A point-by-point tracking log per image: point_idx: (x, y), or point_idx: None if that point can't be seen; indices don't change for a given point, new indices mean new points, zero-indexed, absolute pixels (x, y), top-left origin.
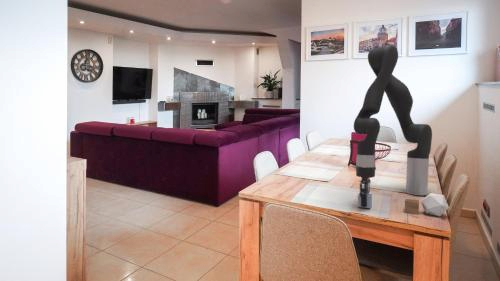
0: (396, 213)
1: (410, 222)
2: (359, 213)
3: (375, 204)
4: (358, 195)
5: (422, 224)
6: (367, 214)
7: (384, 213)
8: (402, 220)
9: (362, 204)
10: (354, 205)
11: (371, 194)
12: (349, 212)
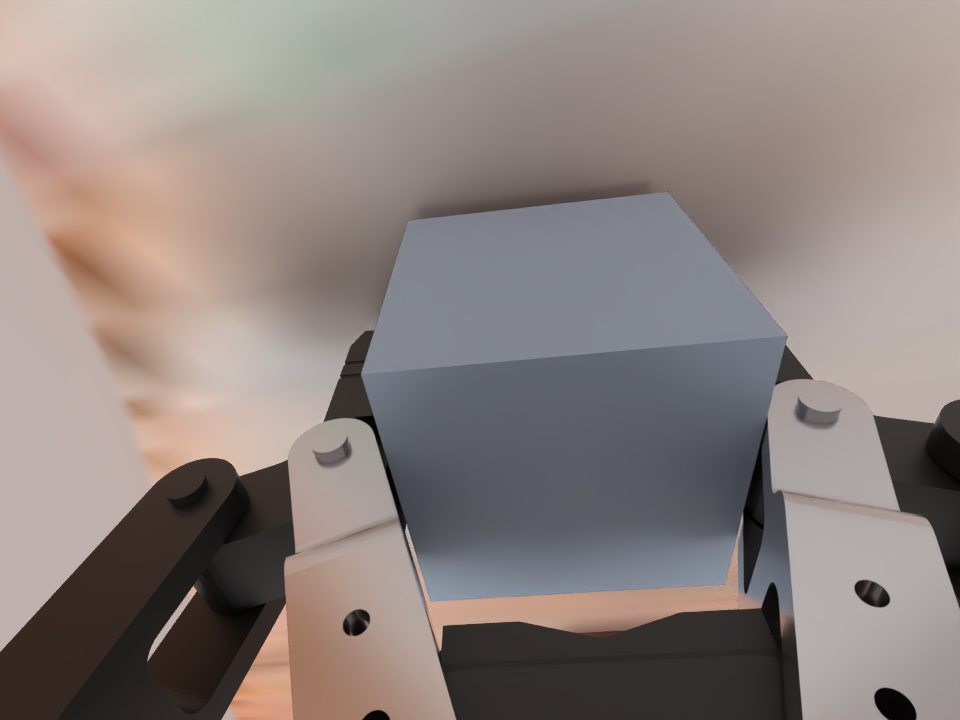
0: (491, 598)
1: (262, 677)
2: (125, 312)
3: (893, 379)
4: (368, 380)
5: (279, 715)
6: (183, 408)
7: (405, 530)
8: (269, 645)
9: (354, 357)
10: (662, 65)
11: (649, 587)
12: (7, 150)
